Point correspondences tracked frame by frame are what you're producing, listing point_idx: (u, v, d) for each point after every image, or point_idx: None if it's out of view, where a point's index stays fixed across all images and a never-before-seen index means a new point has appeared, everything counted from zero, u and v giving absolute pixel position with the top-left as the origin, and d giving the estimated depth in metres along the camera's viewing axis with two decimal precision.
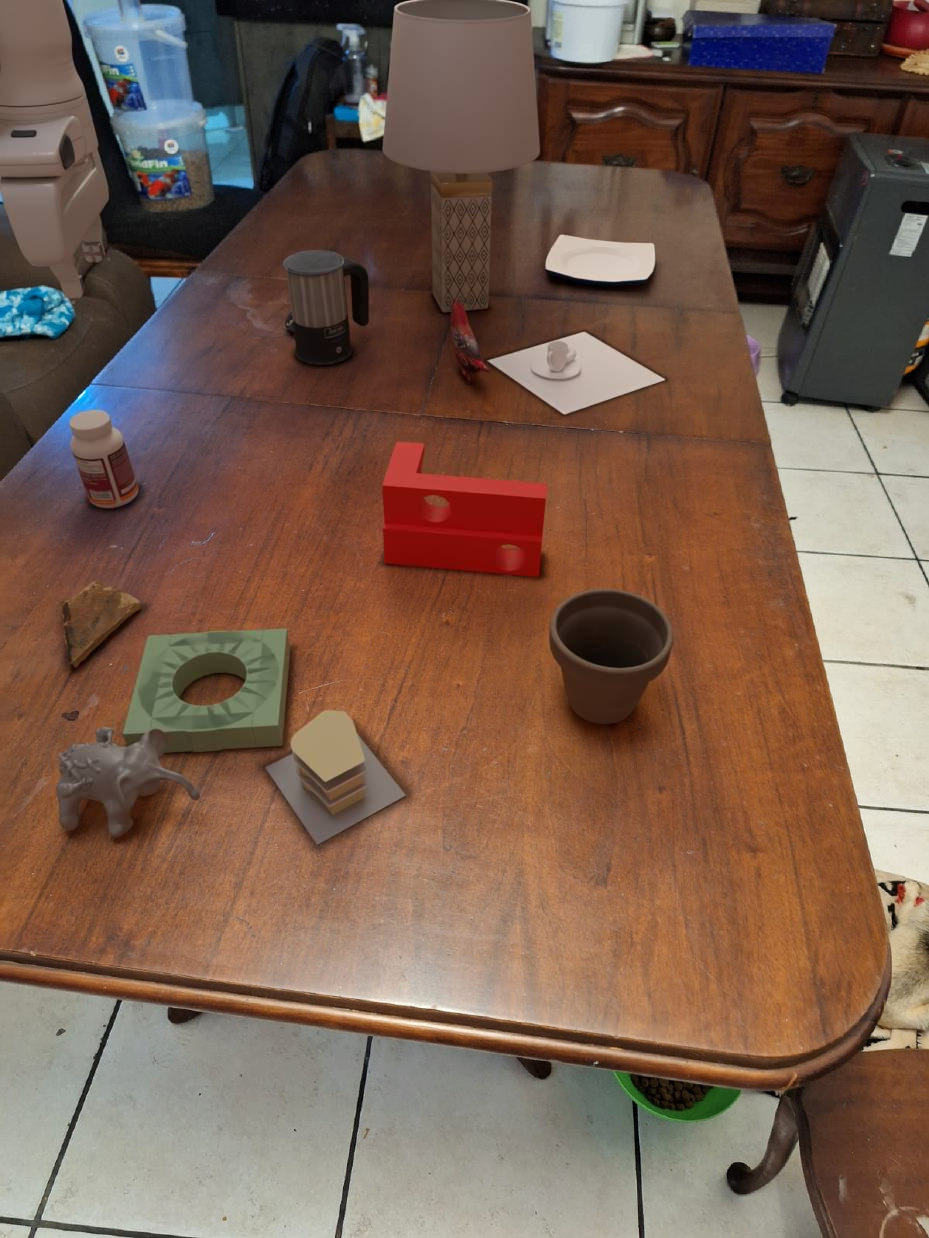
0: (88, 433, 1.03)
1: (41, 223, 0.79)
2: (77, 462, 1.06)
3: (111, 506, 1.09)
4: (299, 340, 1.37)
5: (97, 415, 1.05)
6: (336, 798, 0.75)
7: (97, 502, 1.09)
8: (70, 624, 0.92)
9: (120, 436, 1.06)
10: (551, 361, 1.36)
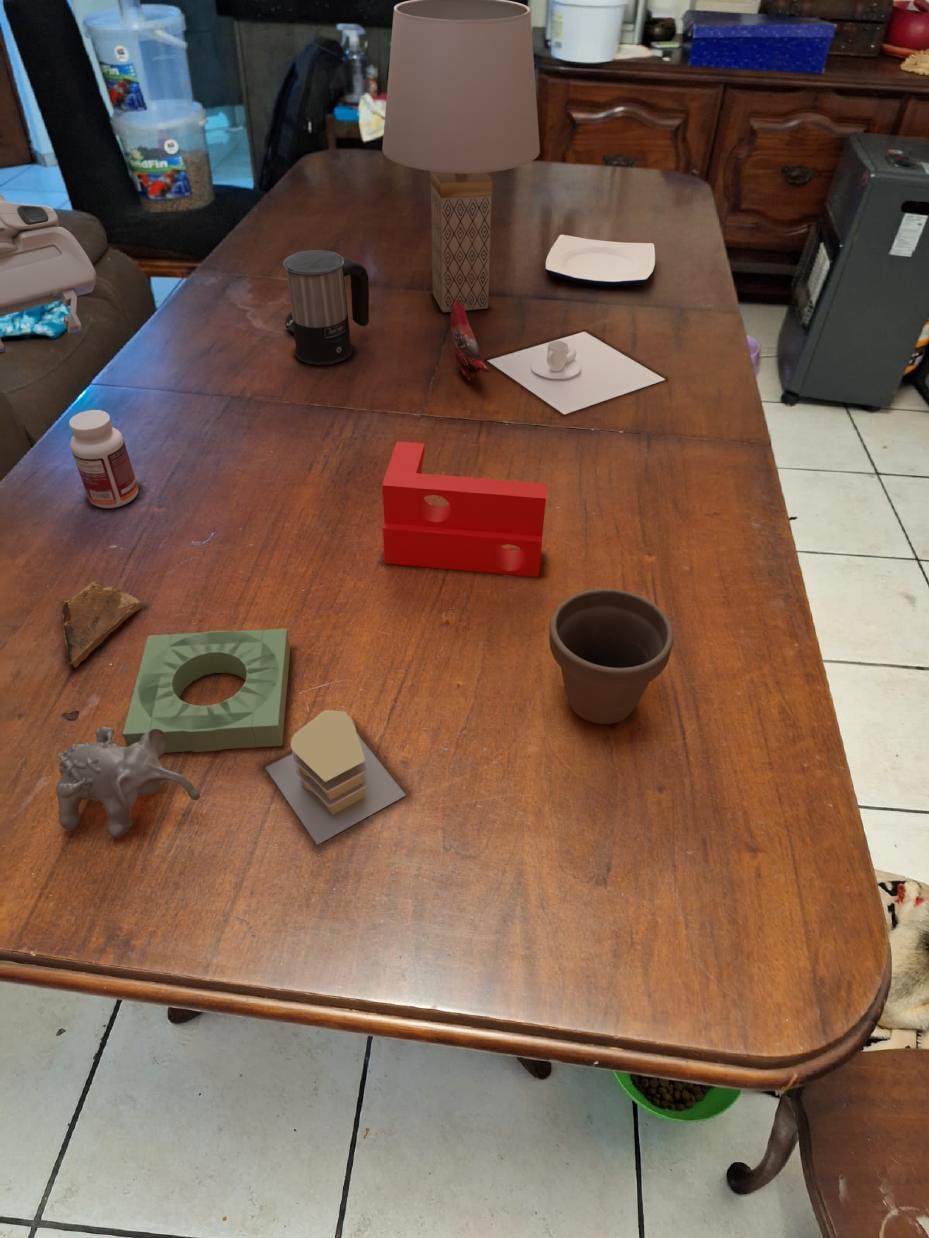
0: (88, 433, 1.03)
1: None
2: (77, 462, 1.06)
3: (111, 506, 1.09)
4: (299, 340, 1.37)
5: (97, 415, 1.05)
6: (336, 798, 0.75)
7: (97, 502, 1.09)
8: (70, 624, 0.92)
9: (120, 436, 1.06)
10: (551, 361, 1.36)
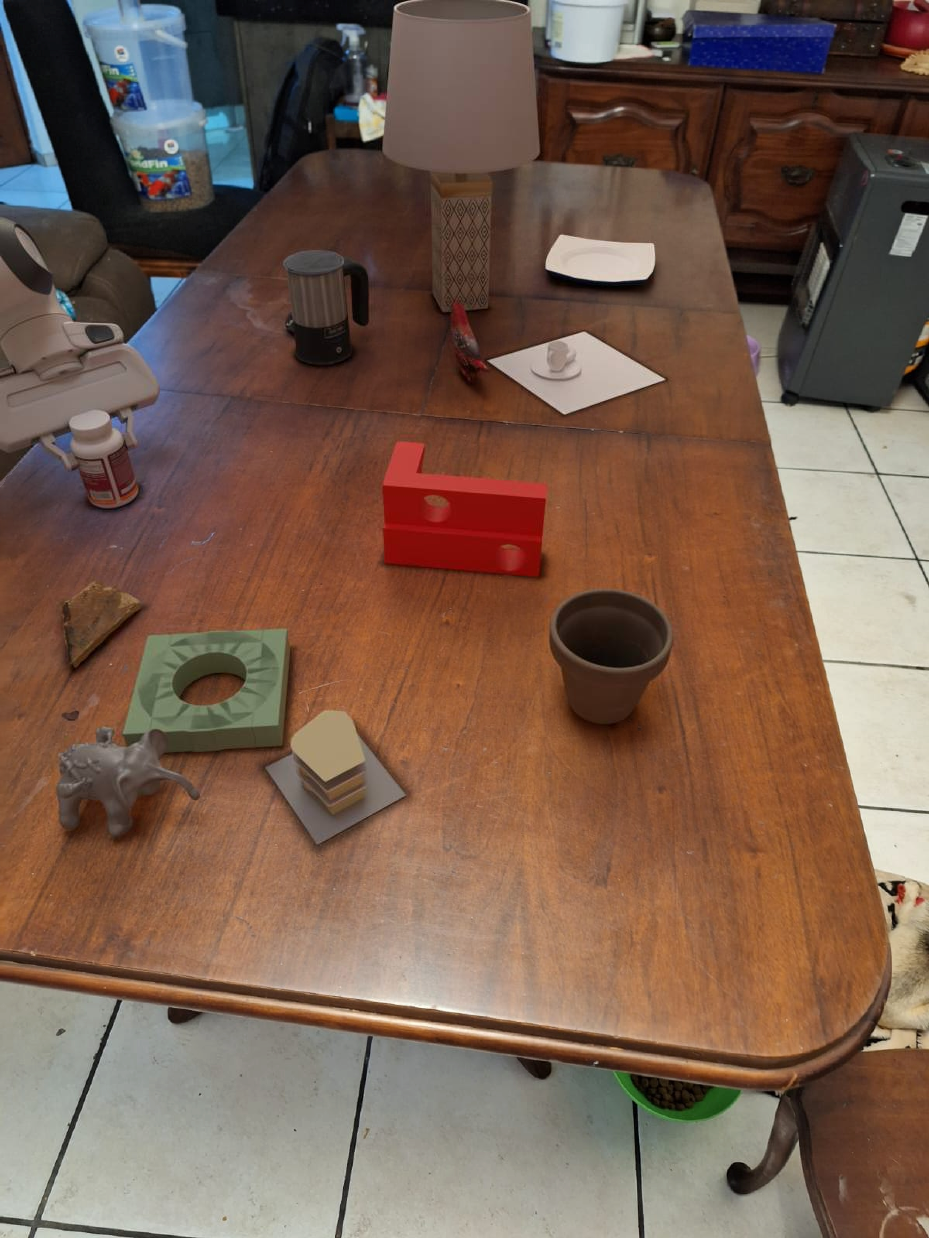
0: (88, 433, 1.03)
1: None
2: None
3: (111, 506, 1.09)
4: (299, 340, 1.37)
5: (97, 415, 1.05)
6: (336, 798, 0.75)
7: (97, 502, 1.09)
8: (70, 624, 0.92)
9: (120, 436, 1.06)
10: (551, 361, 1.36)
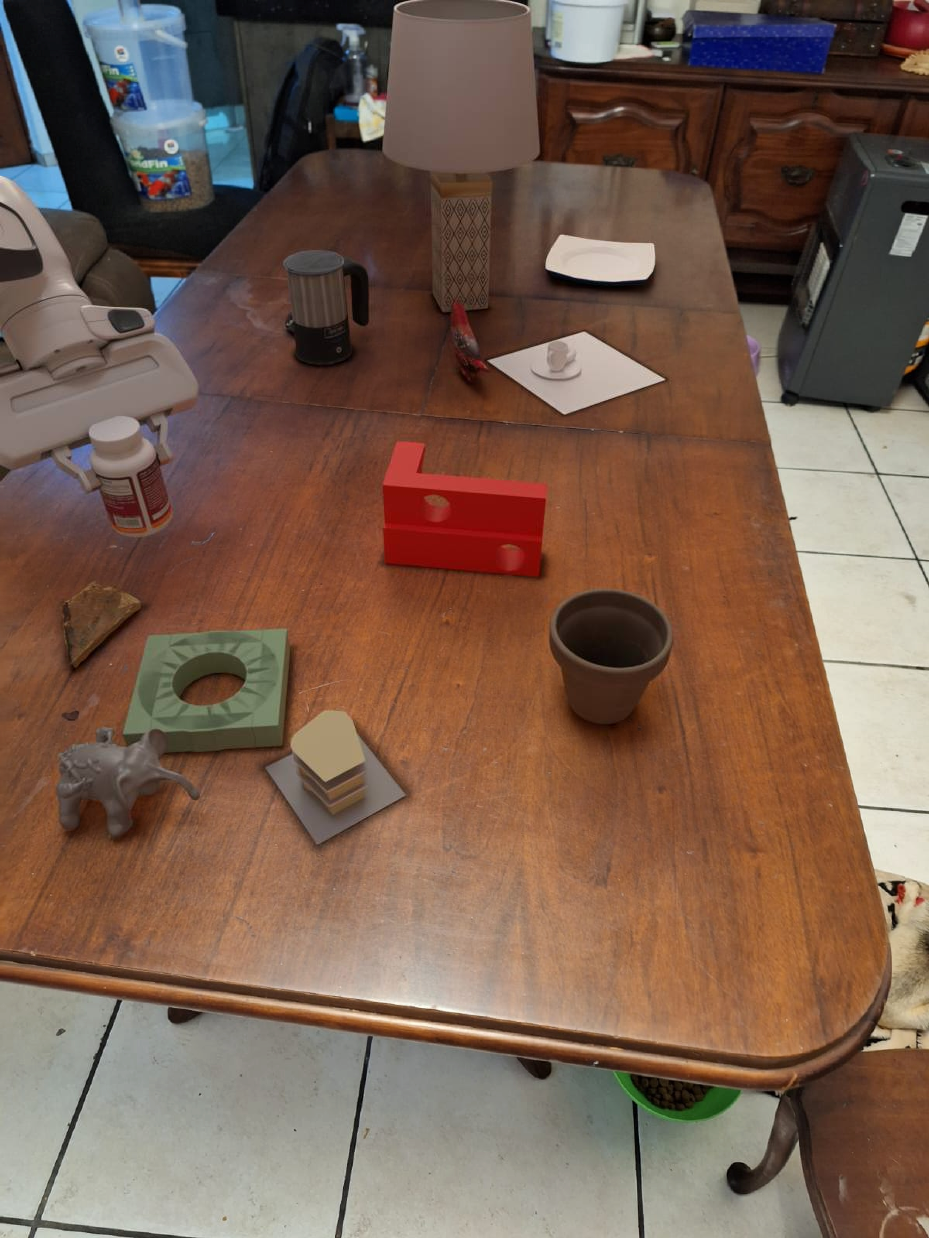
0: (113, 445, 0.82)
1: None
2: None
3: (140, 535, 0.88)
4: (299, 340, 1.37)
5: (124, 422, 0.84)
6: (336, 798, 0.75)
7: (123, 530, 0.88)
8: (70, 624, 0.92)
9: (152, 448, 0.85)
10: (551, 361, 1.36)
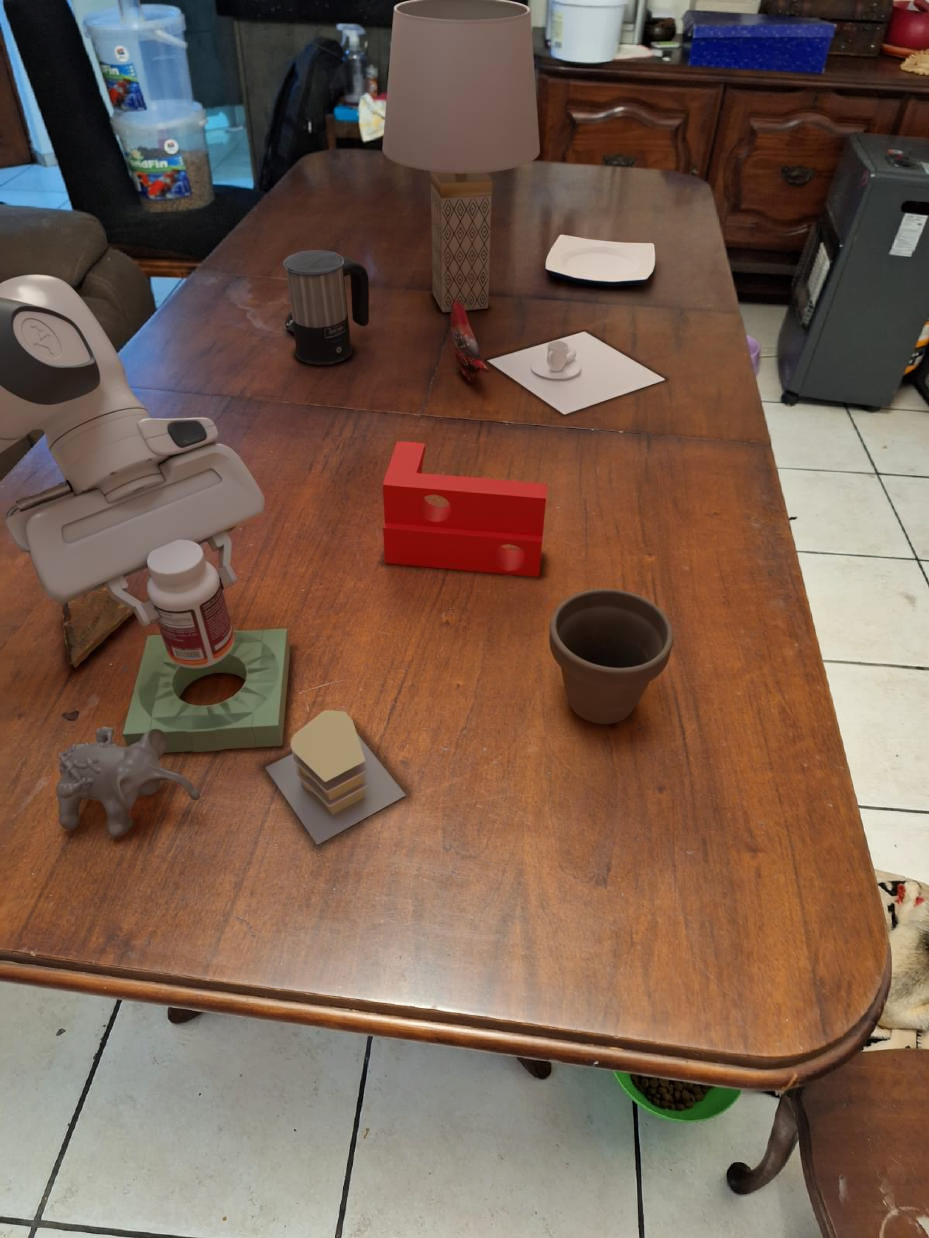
0: (175, 577, 0.73)
1: None
2: None
3: (200, 666, 0.79)
4: (299, 340, 1.37)
5: (185, 548, 0.75)
6: (336, 798, 0.75)
7: (182, 661, 0.79)
8: (70, 624, 0.92)
9: (215, 575, 0.76)
10: (551, 361, 1.36)
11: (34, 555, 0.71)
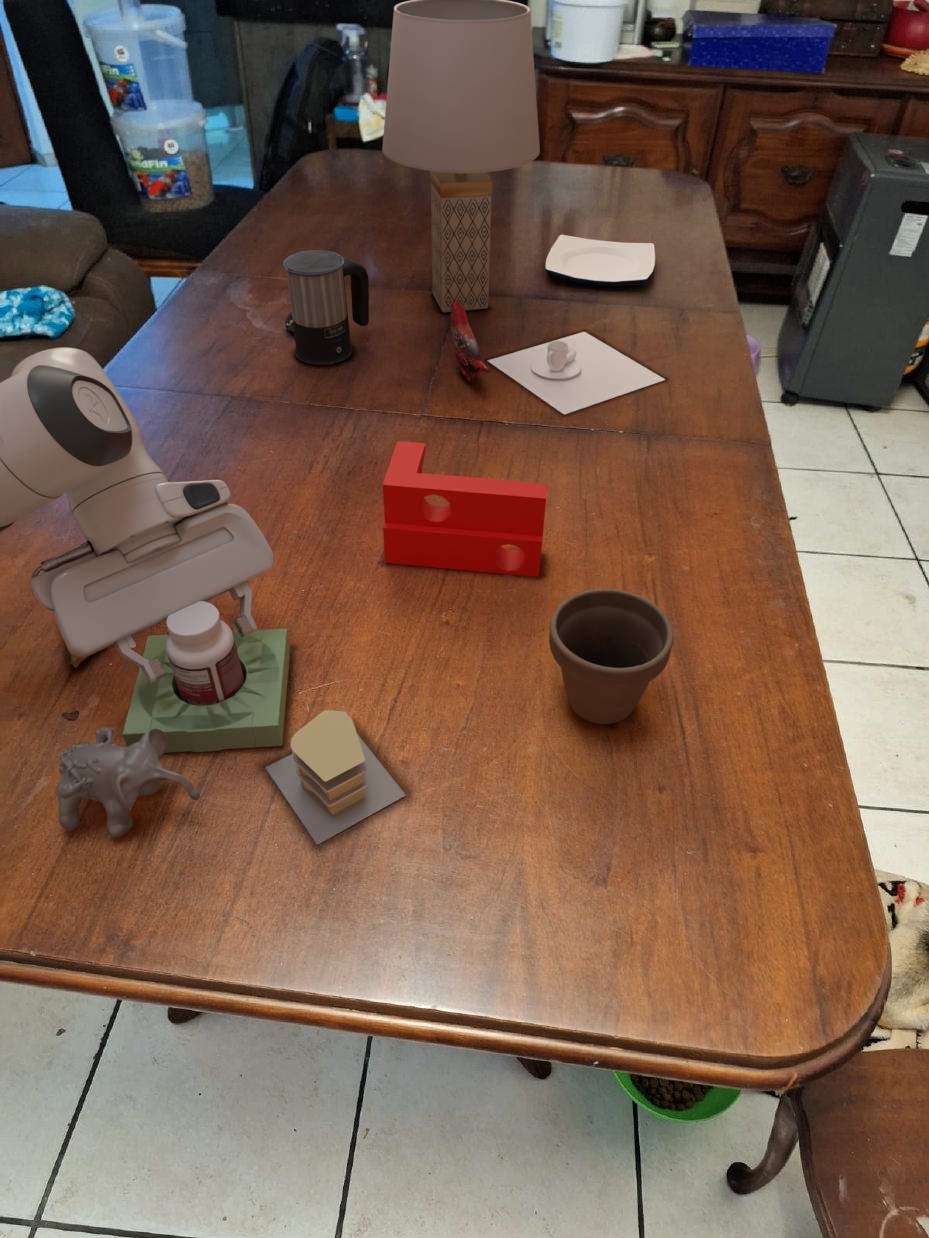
0: (193, 638, 0.78)
1: None
2: (175, 670, 0.81)
3: None
4: (299, 340, 1.37)
5: (202, 609, 0.80)
6: (336, 798, 0.75)
7: None
8: None
9: (230, 634, 0.81)
10: (551, 361, 1.36)
11: (58, 614, 0.75)
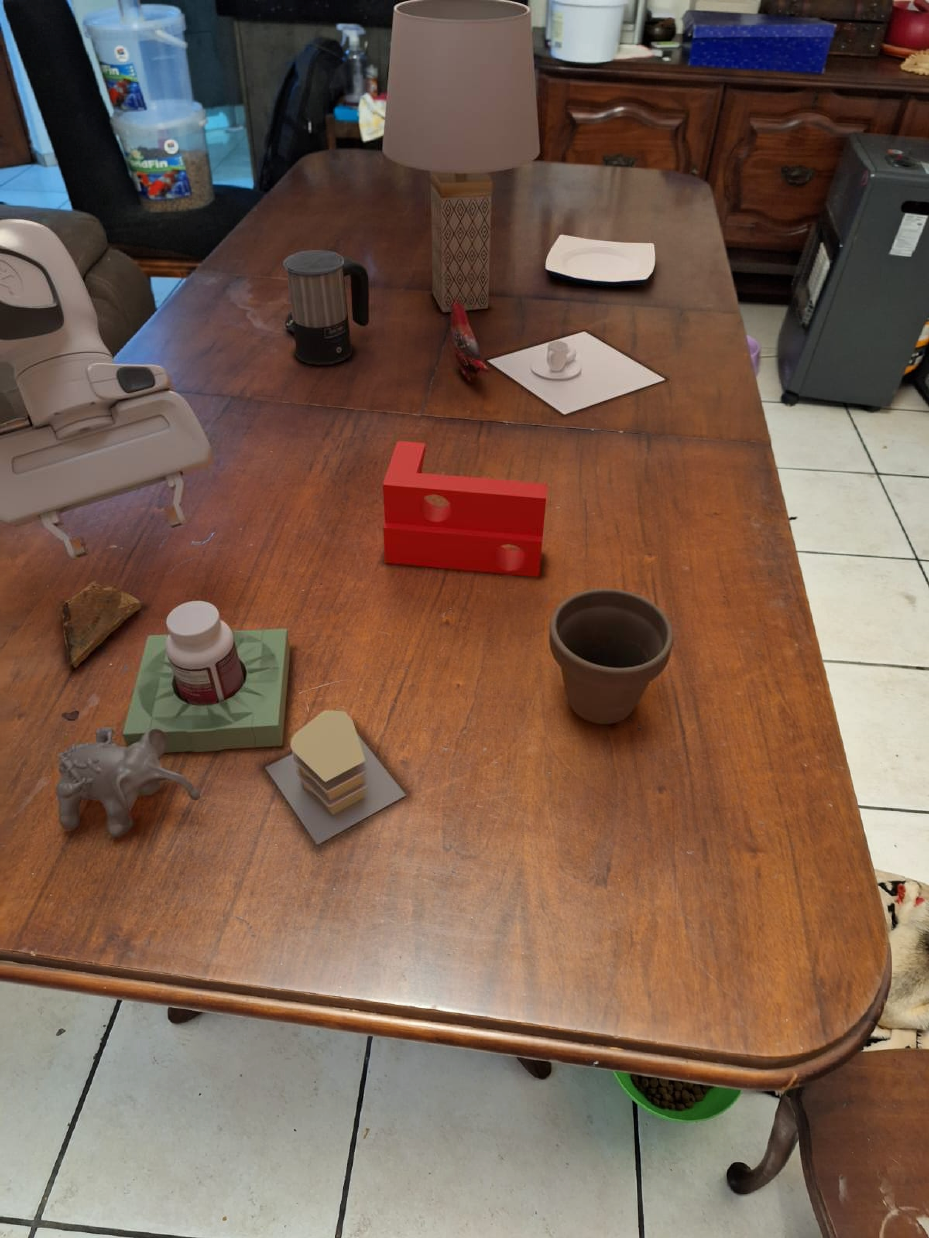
0: (192, 638, 0.78)
1: None
2: (175, 670, 0.81)
3: None
4: (299, 340, 1.37)
5: (202, 609, 0.80)
6: (336, 798, 0.75)
7: None
8: (70, 624, 0.92)
9: (230, 634, 0.81)
10: (551, 361, 1.36)
11: None
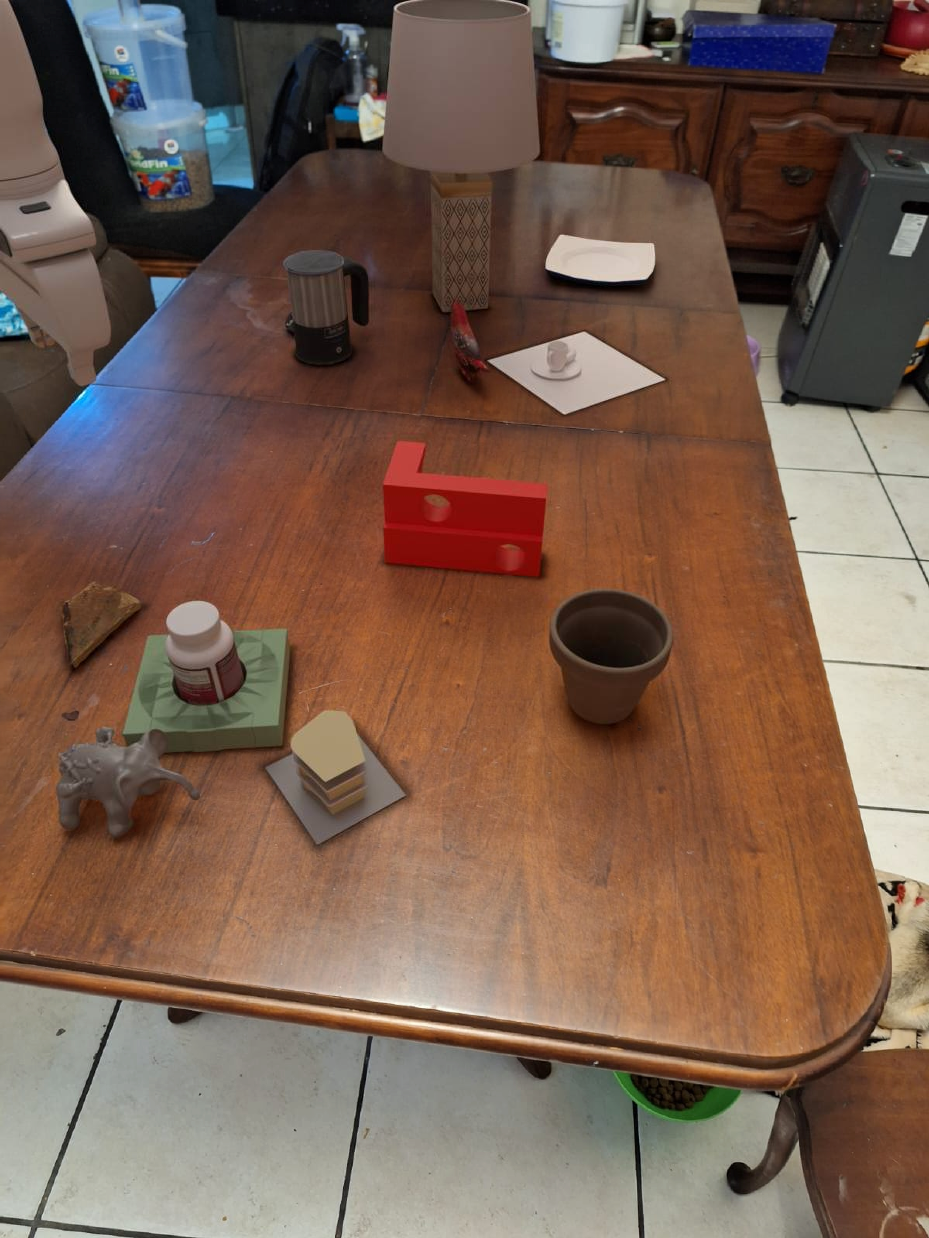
0: (192, 638, 0.78)
1: (87, 302, 0.69)
2: (175, 670, 0.81)
3: None
4: (299, 340, 1.37)
5: (202, 609, 0.80)
6: (336, 798, 0.75)
7: None
8: (70, 624, 0.92)
9: (230, 634, 0.81)
10: (551, 361, 1.36)
11: None
